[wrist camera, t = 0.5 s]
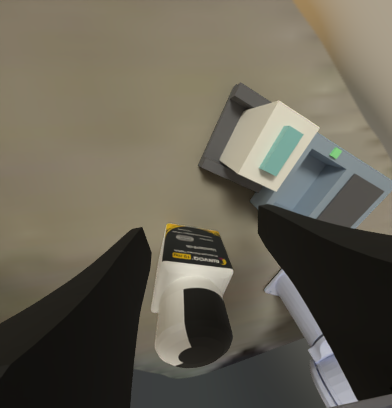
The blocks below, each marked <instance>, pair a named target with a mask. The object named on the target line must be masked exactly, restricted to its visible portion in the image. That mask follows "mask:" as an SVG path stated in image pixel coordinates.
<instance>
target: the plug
mask: <svg viewBox="0 0 392 408" xmlns="http://www.w3.org/2000/svg"><path fill="white" fill-rule="evenodd" d="M319 128H320V127H318V126H317V125H315V124H314V123H312V122H311V121H309V120H308V119H306V118H305V117H303V116H302V115H300V114H299V113H297V112H296V111H294V110H293V109H291V108H290V107H288V106H287V105H285V104H284V103H282V102H280V101H276V102H272V103H269V104H265V105H262V106H259V107H255V108H252V109H248V110H245V111H243V113H242V115H241V117H240V119H239V121H238V123H237V125H236V127H235V129H234V131H233V133H232V135H231V137H230V139H229V141H228V143H227V145H226V147H225V149H224V151H223V153H222V155H221V157H220V159H219V160H220V161H221V162H223V163H224V164H225V165H227V166H228V167H229V168H231V169H232V170H233V171H235V172H236V173H237V174H239V175H241V176H244V177H246V178H248V179H250V180H252V181H254V182H256V183H259V184H261V185H263V186H265V187H267V188H269V189H271V190H274V191H276V192H277V190H278V189H279V187H280V186H281V184H282V183H283V181H284V180H285V178H286V177H287V176H288V174H289V173H290V171H291V170H292V168H293V167H294V165H295V164H296V162H297V161H298V159H299V158H300V156H301V155H302V153H303V152H304V151H305V149H306V148H307V146H308V145H309V143H310V142H311V140H312V139H313V137H314V136H315V134H316V133H317V131H318V130H319Z"/></svg>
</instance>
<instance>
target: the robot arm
mask: <svg viewBox="0 0 392 408" xmlns="http://www.w3.org/2000/svg"><path fill="white" fill-rule="evenodd" d="M258 234H259V236H260V238H261V240H262V241H263V243H264V245H265V247H266V248H267V249H268V251H269V252H270V253H271V255H272V256H273V257H274V259H275V260H276V261H277V263H278V264H279V265H280V267H281V268H282V269H281V270H280V271H279V273H278V274H277V275H276V276H275V277H274V278H273V280H272V281H271V282H270V283H269V284H268V285H267V287H266V288H265V289H264V291H265V293H268V294H272V295H276V296H280V298H281V299H282V301H283V303H284V304H285V306H286V308H287V309H288V311H289V313H290V314H291V316H292V318H293V319H294V321H295V323H296V324H297V326H298V328H299V329H300V331H301V333H302V334H303V336H304V337H305V339H306V341H307V342H308V344H309V346H310V347H311V348H310V349H308V351H309V353H310V355H311V356H312V358H313V359H311V360H310V373H311V376H312V379H313V381H314V384H315V386H316V388H317V390H318V392H319V394H320V396H321V398H322V400H323V401H324V403H325V405H326V407H327V408H392V235H386V234H380V233H374V232H368V231H363V230H358V229H353V228H349V227H344V226H340V225H336V224H332V223H328V222H324V221H321V220H318V219H314V218H311V217H308V216H304V215H301V214H298V213H295V212H292V211H290V210H287V209H284V208H281V207H278V206H274V205H271V204H265V205H259V206H258ZM151 254H152V253H151V250H150V247H149V244H148V242H147V239H146V236H145V233H144V231H143V228H142V227H140V228H135V229H132V230H130V231H129V232H128V233H127V234H125V235H124V236H123V237H122V238H121V239H120V240H119V241H118V242H117V243H116V244H114V245H113V246H112V247H111V248H110V249H109V250H108V251H107V252H105V253H104V254H103V255H102V256H101V257H99V258H98V259H97V260H96V261H95V262H94V263H92V264H91V265H90V266H89V267H87V268H86V269H85V270H83V271H82V272H81V273H79V274H78V275H77V276H75V277H74V278H73V279H71V280H70V281H68V282H67V283H66V284H64V285H63V286H61V287H60V288H58V289H56V290H55V291H53V292H52V293H50V294H49V295H47V296H46V297H44V298H43V299H41V300H40V301H38V302H36V303H35V304H33V305H31V306H30V307H28V308H26V309H25V310H23V311H21V312H20V313H18V314H16V315H15V316H13V317H11V318H9V319H8V320H6V321H4V322H2V323H1V324H0V408H130V401H131V387H132V377H133V366H134V356H135V348H136V339H137V331H138V324H139V316H140V311H141V306H142V302H143V297H144V293H145V289H146V284H147V280H148V276H149V271H150V265H151Z"/></svg>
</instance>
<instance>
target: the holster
mask: <svg viewBox="0 0 392 408" xmlns="http://www.w3.org/2000/svg"><path fill="white" fill-rule="evenodd" d="M269 103H272V102H270V101H269V100H267V99H266V98H264V97H263V96H261V95H259V94H258V93H256V92H255V91H253V90H252V89H250V88H249V87H247V86H245V85H244V84H242V83H240V84H238V85H237V84H236V85H235V86H234V87H233V89H232V91H231V94H230V96H229V98H228V100H227V102H226V105H225V107H224V109H223V111H222V113H221V116H220V118H219V120H218V122H217V124H216V127H215V129H214V131H213V133H212V135H211V138H210V140H209V142H208V144H207V146H206V149H205V151H204V153H203V155H202V157H201V160H200V162H199V164H198V166H199V167H201V168H203V169H206V170H208V171H210V172H212V173H215V174H217V175H219V176H221V177H223V178H226V179H228V180H230V181H232V182H235V183H237V184H239V185H241V186H244V187H246V188H248V189H250V190H253V191H255V192H257V193H259V191H260V190H261V188H262V187H263V185H261V184H259V183H256V182H254V181H252V180H250V179H248V178H246V177H244V176H241V175H239V174H237V173H236V172H235V171H233V170H232V169H231V168H229V167H228V166H227V165H225V164H224V163H223V162H221V161H220V160H219V159H220V157H221V155H222V153H223V151H224V149H225V147H226V145H227V143H228V141H229V139H230V137H231V135H232V133H233V131H234V129H235V127H236V125H237V123H238V121H239V119H240V117H241V115H242V113H243V111H245V110H248V109H252V108H255V107H259V106H262V105H265V104H269Z"/></svg>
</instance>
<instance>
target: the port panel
mask: <svg viewBox="0 0 392 408" xmlns="http://www.w3.org/2000/svg"><path fill="white" fill-rule="evenodd" d="M391 191H392V180H391V179H389V178H388V177H386V176H384V175H383V174H381V173H380V172H378V171H377V170H375V169H374V168H372V167H370V166H369V165H367V164H366V163H364V162H363V161H361V160H360V159H358V158H357V157H355V156H353V155H352V154H350V153H349V152H347V151H346V150H344V149H343V148H341V147H339V146H338V145H336V144H335V143H333V142H332V141H330V140H329V139H327V138H325V137H324V136H322V135H321V134H319V133H318V132H317V133H316V134H315V136H314V137H313V139H312V140H311V142H310V143H309V145H308V146H307V148H306V149H305V151H304V152H303V153H302V155H301V156H300V158H299V159H298V161H297V162H296V164H295V165H294V167H293V168H292V170H291V171H290V173H289V174H288V176H287V177H286V178H285V180H284V181H283V183H282V184H281V186H280V187H279V189H278V190H277V192H276V191H274V190H271V189H269V188H267V187H265V186H263V187H262V188H261V190H260V191H259V193H257V192H255V193H254V195H253V197H252V198H251V200H250V202H251V203H252V204H253V205H254V206H255V207H256V208H257V209H258V206H259V205H265V204H271V205H274V206H278V207H281V208H284V209H287V210H290V211H292V212H295V213H298V214H301V215H304V216H308V217H311V218H314V219H318V220H321V221H324V222H328V223H332V224H336V225H340V226H344V227H349V228H353V229H356V227H357V226H358V225H359V224H360V223H361V222H362V221H363V220H364V219H365V218H366V217H367V216H368V215H369V214H370V213H371V212H372V211H373V210H374V209H375V208H376V207H377V206H378V205H379V204H380V203H381V202H382V201H383V199H384V198H385V197H386V196H387V195H388V194H389V193H390V192H391Z"/></svg>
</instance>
